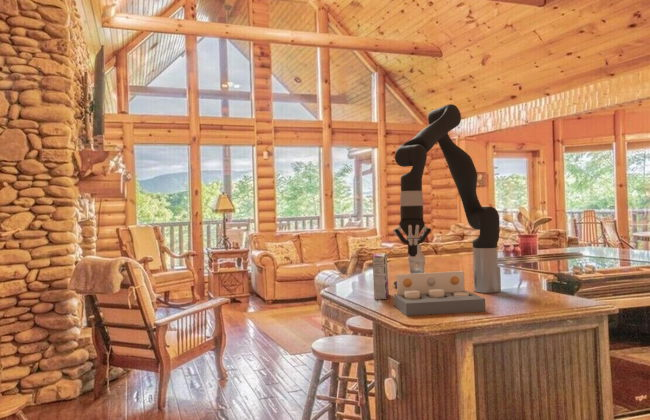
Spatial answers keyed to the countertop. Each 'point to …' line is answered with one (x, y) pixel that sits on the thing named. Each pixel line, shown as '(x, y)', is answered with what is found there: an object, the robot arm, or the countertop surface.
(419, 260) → the metal water bottle
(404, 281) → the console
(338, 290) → the countertop surface
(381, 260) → the candy bar box
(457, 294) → the button
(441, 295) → the button middle
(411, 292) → the button
